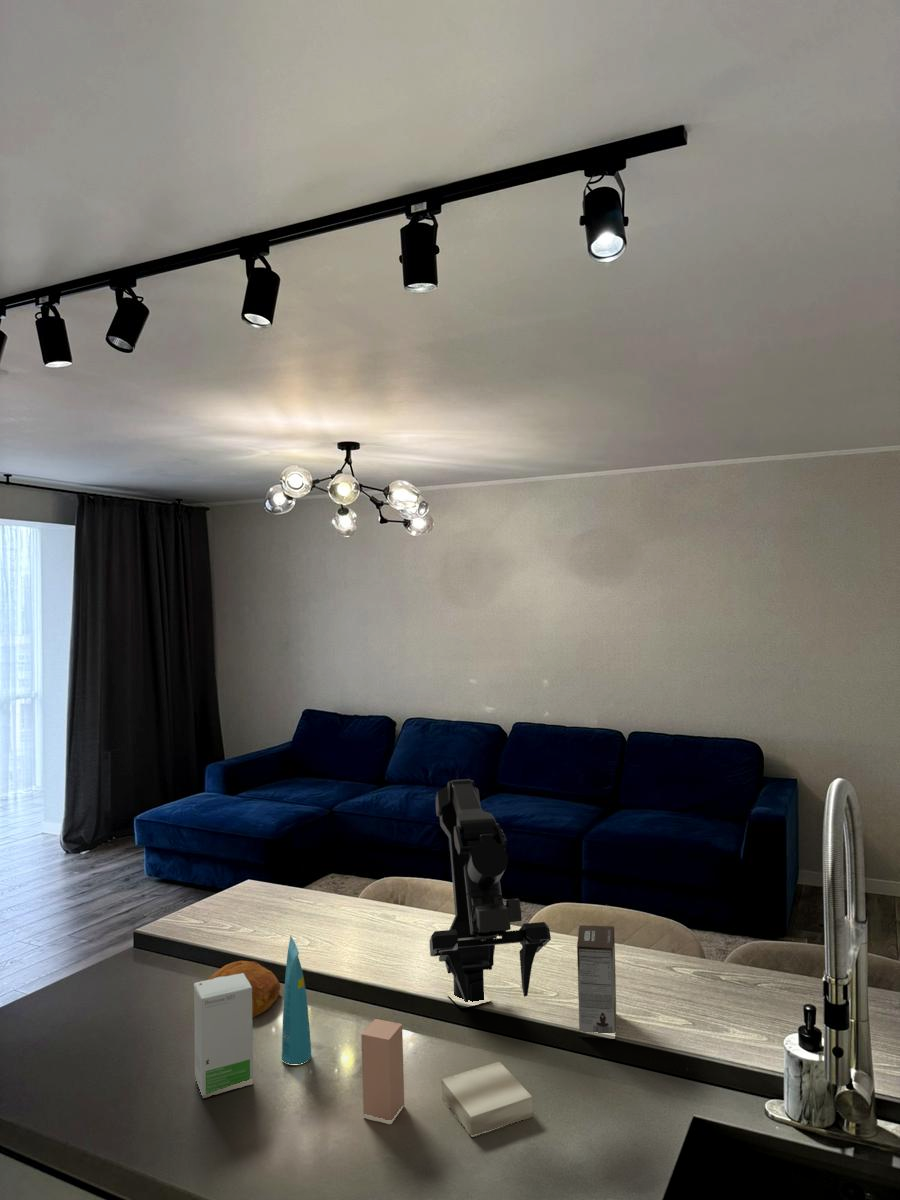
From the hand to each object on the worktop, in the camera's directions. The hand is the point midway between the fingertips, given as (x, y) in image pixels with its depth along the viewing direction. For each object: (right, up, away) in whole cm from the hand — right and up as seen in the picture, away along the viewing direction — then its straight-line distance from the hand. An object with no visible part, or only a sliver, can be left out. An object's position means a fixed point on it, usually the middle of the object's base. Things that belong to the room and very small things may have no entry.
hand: (496, 999), depth 123 cm
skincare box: (-43, -16, +5) cm, 46 cm away
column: (-17, -15, -4) cm, 23 cm away
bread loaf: (-47, -16, +30) cm, 58 cm away
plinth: (-2, -15, -3) cm, 15 cm away
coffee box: (+19, -14, +19) cm, 30 cm away
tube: (-33, -16, +11) cm, 38 cm away
